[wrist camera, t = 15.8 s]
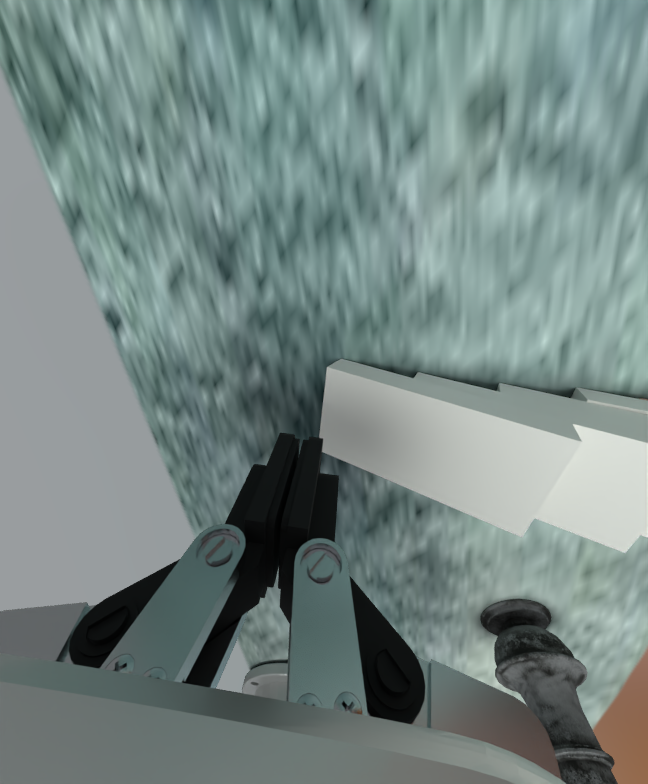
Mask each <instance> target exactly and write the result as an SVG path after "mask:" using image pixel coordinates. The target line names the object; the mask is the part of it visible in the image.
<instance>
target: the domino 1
mask: <svg viewBox="0 0 648 784" xmlns="http://www.w3.org/2000/svg"><path fill="white" fill-rule="evenodd" d="M319 438H323V447H322V452H324V453H326V454H328V455H331V456H333V457H335V458H338V459H340V460H342V461H345V462H347V463H349V464H352V465H354V466H356V467H359V468H361V469H363V470H366V471H368V472H370V473H373V474H375V475H377V476H380V477H382V478H384V479H387V480H389V481H391V482H394V483H396V484H398V485H401V486H403V487H405V488H408V489H410V490H412V491H415V492H417V493H419V494H422V495H424V496H426V497H429V498H431V499H433V500H436V501H438V502H440V503H443V504H445V505H447V506H450V507H452V508H454V509H457V510H459V511H461V512H464V513H466V514H468V515H471V516H473V517H475V518H478V519H480V520H482V521H485V522H487V523H489V524H492V525H494V526H496V527H499V528H501V529H503V530H506V531H508V532H510V533H513V534H515V535H517V536H520V537H523V536H524V534H525V532H526V531H527V529H528V528H529V526H530V524H531V523H532V521H533V520H534V518H535V516H536V515H537V513H538V512H539V510H540V508H541V507H542V505H543V504H544V502H545V500H546V499H547V497H548V496H549V494H550V492H551V491H552V489H553V488H554V486H555V485H556V483H557V481H558V480H559V478H560V477H561V475H562V473H563V472H564V470H565V469H566V467H567V465H568V464H569V462H570V461H571V459H572V457H573V456H574V454H575V453H576V451H577V449H578V448H579V446H580V445H581V443H582V441H581V439H580V437H579V435H578V433H577V431H576V429H575V428H574V426H573V424H572V422H571V421H567V420H563V419H560V418H556V417H552V416H549V415H545V414H541V413H538V412H534V411H531V410H527V409H523V408H520V407H516V406H512V405H509V404H505V403H501V402H498V401H494V400H490V399H487V398H483V397H480V396H476V395H472V394H469V393H465V392H461V391H458V390H454V389H450V388H447V387H443V386H439V385H436V384H432V383H429V382H425V381H421V380H418V379H414V378H410V377H407V376H403V375H399V374H396V373H392V372H388V371H385V370H381V369H377V368H374V367H370V366H367V365H363V364H359V363H356V362H352V361H348V360H345V359H340V360H338V361H336V362H335V363H333V364H331V365H330V366H328V367H327V372H326V381H325V390H324V399H323V407H322V416H321V425H320V434H319Z"/></svg>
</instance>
